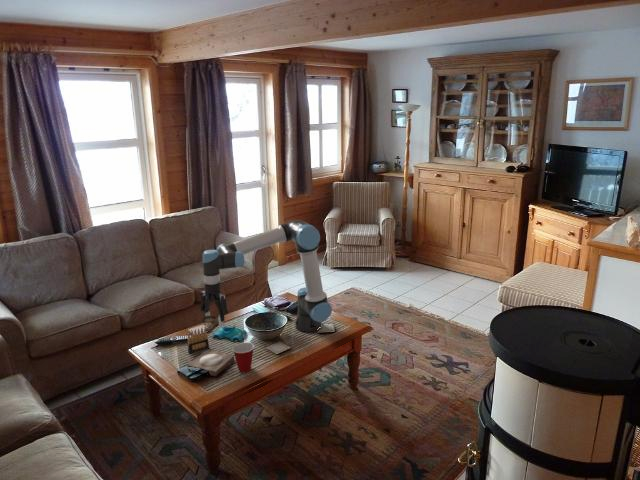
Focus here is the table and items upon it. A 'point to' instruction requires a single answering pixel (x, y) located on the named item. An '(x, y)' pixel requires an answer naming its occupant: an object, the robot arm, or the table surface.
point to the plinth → (212, 361)
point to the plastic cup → (243, 356)
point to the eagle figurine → (211, 319)
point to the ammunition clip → (197, 341)
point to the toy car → (230, 333)
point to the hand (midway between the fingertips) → (214, 325)
